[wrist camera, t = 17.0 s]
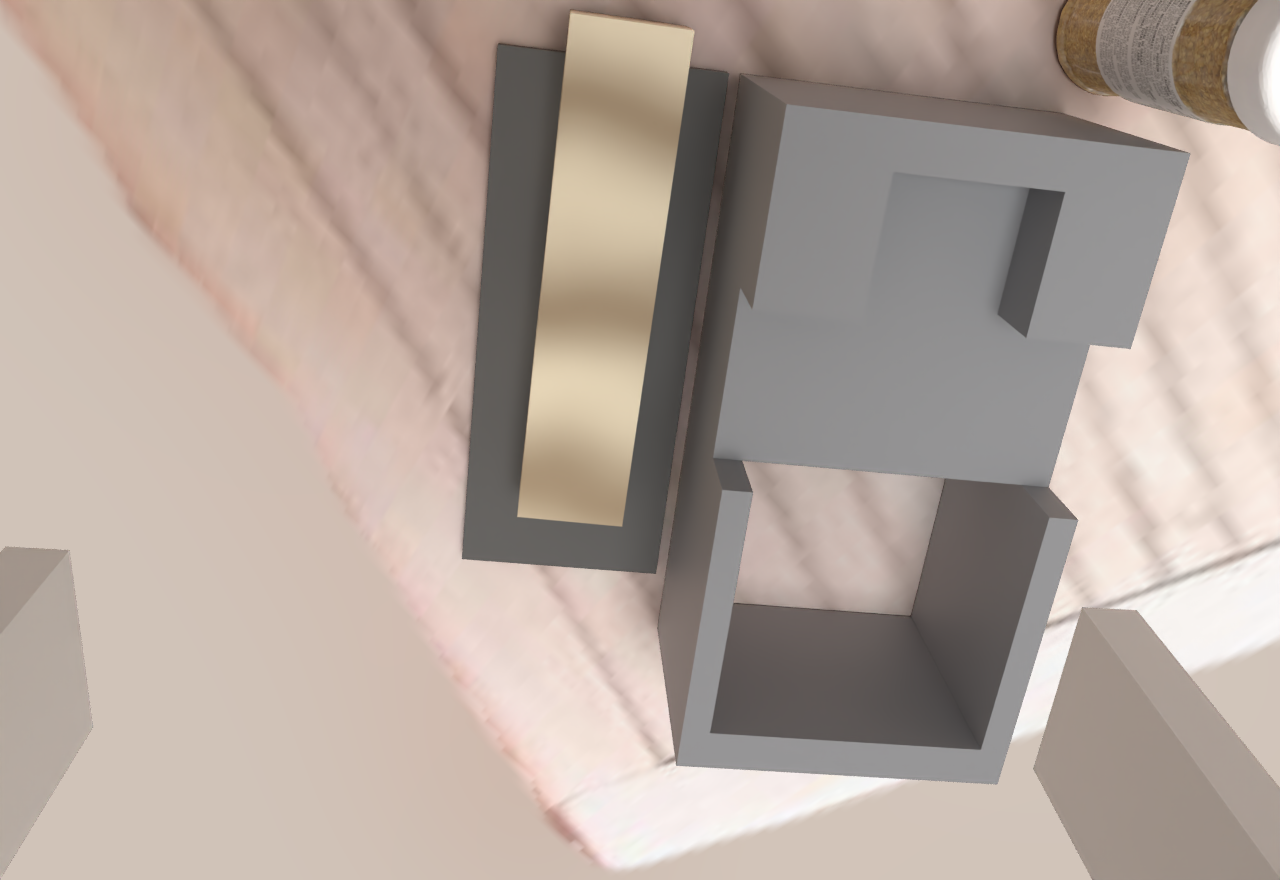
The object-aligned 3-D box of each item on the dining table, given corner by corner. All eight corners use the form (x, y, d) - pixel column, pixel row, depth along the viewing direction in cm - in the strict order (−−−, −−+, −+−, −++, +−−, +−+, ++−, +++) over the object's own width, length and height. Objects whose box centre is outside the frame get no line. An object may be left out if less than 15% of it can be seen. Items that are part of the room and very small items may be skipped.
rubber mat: (498, 43, 39) (497, 44, 38) (726, 71, 40) (728, 73, 39) (463, 551, 46) (462, 558, 46) (654, 566, 47) (655, 573, 47)
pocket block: (740, 73, 40) (786, 104, 31) (1064, 113, 41) (1190, 153, 33) (657, 627, 49) (676, 765, 40) (925, 646, 50) (997, 784, 42)
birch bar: (570, 9, 38) (570, 13, 36) (686, 26, 38) (694, 30, 36) (519, 488, 45) (517, 516, 43) (619, 497, 45) (621, 526, 43)
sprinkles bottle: (1195, -28, 39) (1483, -21, 27) (1152, 105, 41) (1405, 170, 29) (1071, -51, 39) (1308, -53, 26) (1033, 86, 40) (1239, 143, 28)
